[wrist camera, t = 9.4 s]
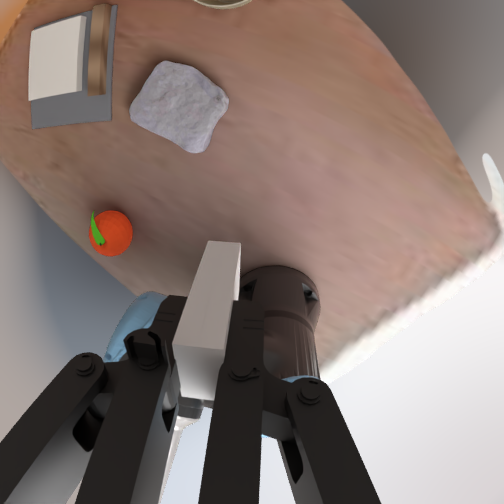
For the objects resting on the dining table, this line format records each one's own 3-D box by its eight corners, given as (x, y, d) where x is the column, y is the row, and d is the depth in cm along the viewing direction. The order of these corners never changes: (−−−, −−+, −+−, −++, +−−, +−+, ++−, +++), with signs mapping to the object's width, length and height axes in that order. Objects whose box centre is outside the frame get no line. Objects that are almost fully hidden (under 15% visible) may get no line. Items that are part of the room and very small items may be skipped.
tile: (76, 91, 34) (28, 100, 34) (82, 90, 36) (35, 99, 36) (80, 15, 28) (31, 31, 28) (87, 17, 30) (38, 31, 30)
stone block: (166, 58, 36) (130, 119, 38) (159, 50, 31) (119, 117, 34) (239, 95, 39) (202, 156, 41) (241, 90, 34) (199, 158, 37)
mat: (111, 120, 38) (110, 120, 38) (33, 129, 39) (32, 129, 38) (117, 5, 30) (116, 4, 29) (35, 28, 30) (34, 28, 29)
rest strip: (106, 94, 36) (99, 95, 34) (94, 95, 36) (87, 96, 34) (111, 5, 29) (105, 3, 28) (100, 8, 29) (93, 5, 28)
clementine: (91, 206, 45) (69, 225, 39) (123, 190, 44) (102, 208, 38) (114, 248, 49) (95, 270, 43) (146, 235, 47) (130, 258, 41)
